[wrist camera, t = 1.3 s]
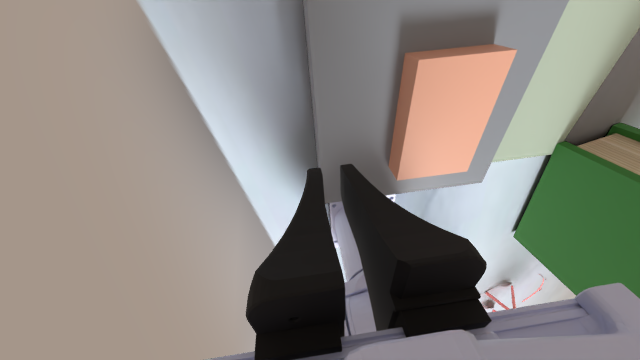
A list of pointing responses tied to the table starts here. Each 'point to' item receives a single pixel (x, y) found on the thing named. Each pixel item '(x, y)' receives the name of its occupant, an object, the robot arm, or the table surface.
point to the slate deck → (386, 71)
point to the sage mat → (569, 74)
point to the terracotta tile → (445, 108)
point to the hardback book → (589, 212)
